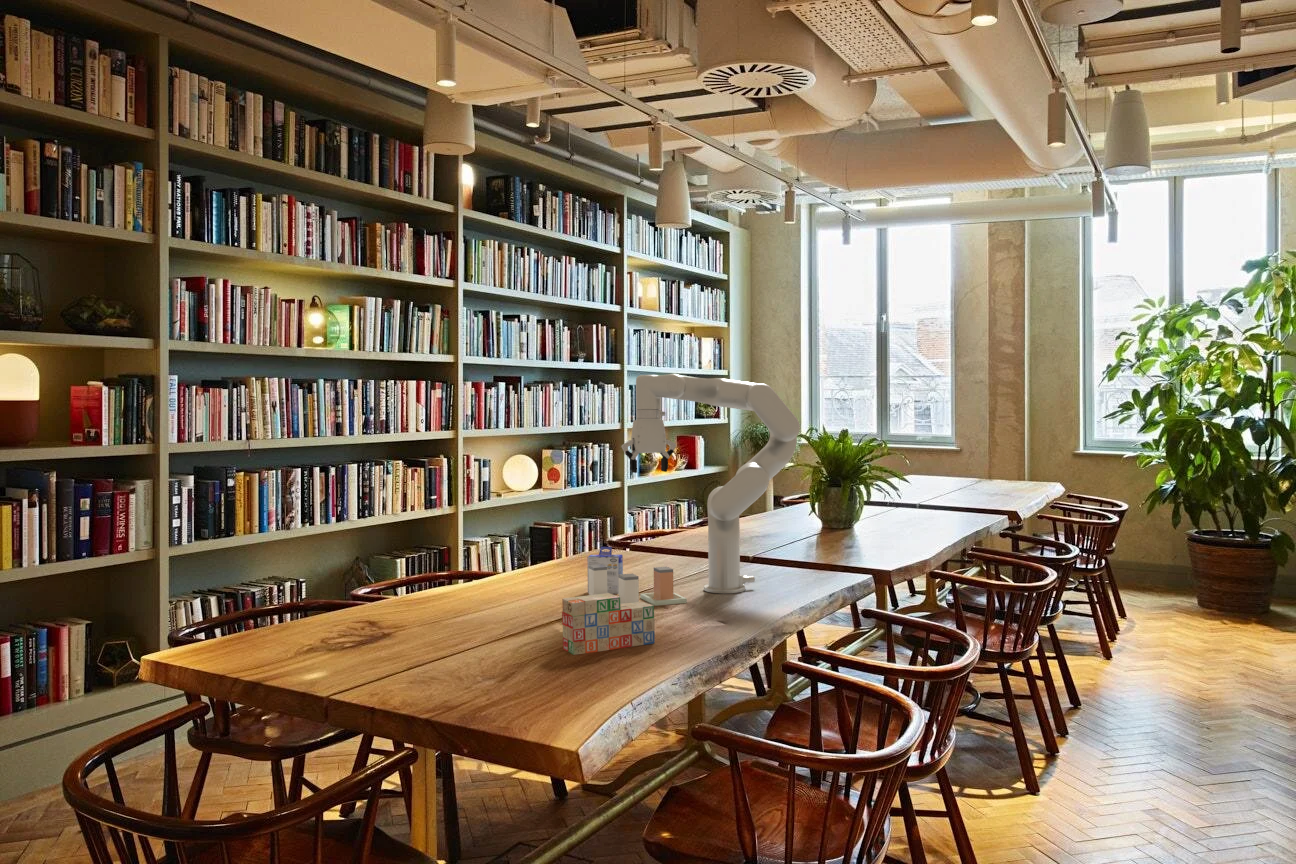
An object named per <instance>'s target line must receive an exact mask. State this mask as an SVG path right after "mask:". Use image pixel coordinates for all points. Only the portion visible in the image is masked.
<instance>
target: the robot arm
mask: <svg viewBox="0 0 1296 864" xmlns="http://www.w3.org/2000/svg"><path fill="white" fill-rule="evenodd" d="M662 398H667V399H672V400H679V401H680V400H681V401H688V402H694V403H700V404H701V403H702V404H706V405H709V406H713V407H719V408H729V409H735V410H743V411H744V410H745V411H751V412H754V413H755V415H756V416H757V417H758V418H759V420H760V421H761V422H762V423H763V424H764V426H765V427H766V428H767V429H768V431H769V437H768V442H766V444H765V445H764V446H763V448H762V449H760V450H759V451H758V452H757V453H756V454H755V455H754V456H753V457H751V459H749V460H748V461H747V462H746V463H744V464H742V465H741V466H740V467H739V468H738V470H736V473H735V475H734V476H733V477H732V478H731V479H730V480H729V481H728V482H726V483H725V484H724V485H722V486H721V485H720V486H718V487H715V488H714V489H713V490H712V491H711V492H710V493H709V494H708V498H707V502H706V503H707V505H706V507H707V527H708V529H707V530H708V532H707V535H708V536H707V537H708V541H707V543H708V544H707V548H708V553H707V555H708V556H707V558H708V560H707V561H708V564H707V565H708V583H707V584H704V585H703V591H705V592H707V593H711V594H738V593H743V592H744V591H746V586H745V584H748V583H755V582H756V581H755V579H756V578H755V575H754V576H753V575H749V576H747V575H743V574H741V566H740V565H741V559H740V557H741V554H740V551H741V549H740V547H741V546H740V545H741V543H740V539H741V537H740V536H741V535H740V534H741V531H740V530H741V529H740V525H741V524H740V516H741V514H742V513H743V512H744V511H746V510H747V509H748V508H749V507H750V506H751V505H753V504H754V503H755V502H756V501H757V500H758V499H759V498H760V497H762V495H764V494H765V492H766V491H767V489H768V487H769V484H770V481H771V480H772V479H773V478H774V477H775V476H777V474H778V473H780V471H781V470H782V469H784V467H785V466H786V465H787V464H788V463H789V462H790V461H791V459H792V458H793V456H794V453H795V452H796V447H797V439H798V438H797V436H799V433H800V426H801V425H800V422H799V420H798V418H797V416H796V415H795V414H794V413H793V412H792V410H790V408H789V407H788V406H787V404H786V403H784V401H783V400H782V399H781V398H780V396H779V394H777V392H776V391H775V390H774V389H773V387H771V386H770V385H768V384H766V383H757V382H750V381H743V380H742V381H741V380H736V379H728V378H722V377H721V378H720V377H719V378H718V377H715V378H705V377H696V376H695V377H694V376H687V375H681V374H677V373H670V374H669V373H668V374H661V375H658V374H640V375H638V376H637V377H636V380H635V401H636V402H635V406H636V407H635V408H636V409H635V411H636V412H635V413H636V419H635V420H633V421H632V428H631V439H630V440H628V441H627V442H625V443H623V444H621V447H620V448H621V449H622V451H623V452H624V453H623V454H624V455H626V457H627V458H628V459H629V470H630V471H631V473H632V474H633V473H634V474H637V473H638V460H637V457H638V456H639V454H658V453H659V454H660V456H661V457H662V458H660V470H661V472H663V473H664V472H665V473H667V472H668V469H669V459H670V457H671V455H672V454H674V450H675V449H676V447H677V444H676V443H675V442H673V441H671V440H669V439H668V438H667V435H666V429H665V428H666V427H665V422H664V420H663V419H662V418H663V417H665V416H666V412H665V411H662ZM667 445H668V446H669V449H668V450H667ZM629 447H630V449H631V451H630V450H629Z"/></svg>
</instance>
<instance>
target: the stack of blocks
mask: <svg viewBox="0 0 1296 864" xmlns="http://www.w3.org/2000/svg"><path fill="white" fill-rule="evenodd" d="M561 599H562V604H561V607H562V611H561V618H562V619H561V622H562V649H563V650H564V651H565V652H568V653H570V654H571V655H573V656H575V655H581V654H582V655H583V654H589V653H590V654H591V653H597V652H604V651H609V650H611V651H612V650H617V649H623V648H624V649H626V648H631V647H637V646H638V647H639V646H644V645H645V646H646V645H651V644H652V645H653V644H655V643H656V642H655V639H656V638H655V636H656V635H655V634H656V633H655V629H656V628H655V621H656V620H655V606H654V605H652V604H651V603H649V602H646V601H645V602H644V601H639V602H633V603H624V604H620V597H619V595H617V594H610V593H604V594H595V595H589V594H587V595H581V596H575V597H563V598H561Z"/></svg>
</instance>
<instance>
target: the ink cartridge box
mask: <svg viewBox="0 0 1296 864" xmlns="http://www.w3.org/2000/svg"><path fill="white" fill-rule="evenodd" d="M603 550H609V551H603ZM612 552H613V547H612V546H600V548H599V552H598V554H590V555H588V556H587V561H586V562H587V594H589V565H600V564H602V565H604V566H606V567H607V593H610V594H612V595H619V577H618V574H624V571H623V569H624V567H623V566H624V564H623V563H624V562H623V559H624V558H623V554H612Z"/></svg>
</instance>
